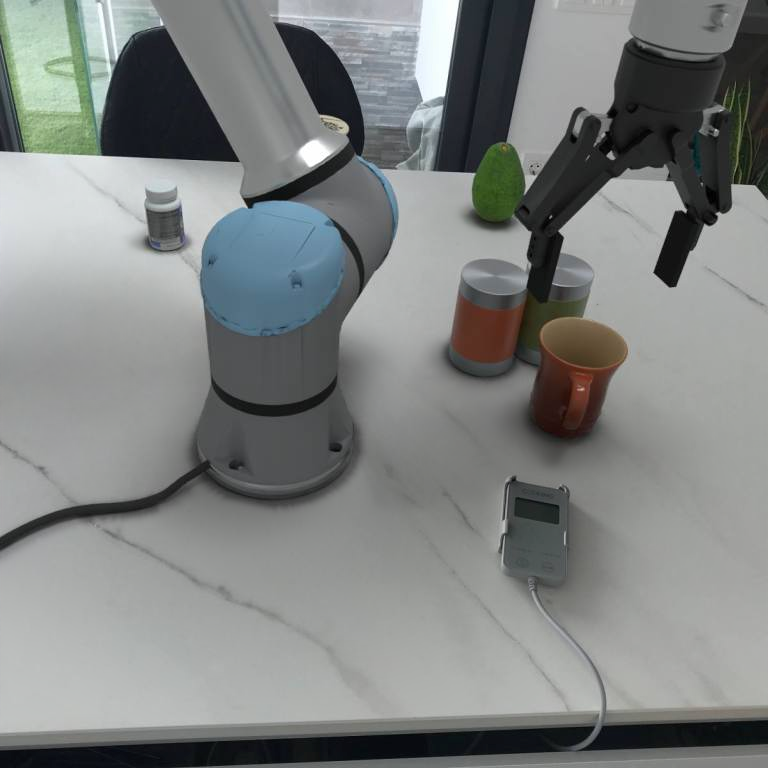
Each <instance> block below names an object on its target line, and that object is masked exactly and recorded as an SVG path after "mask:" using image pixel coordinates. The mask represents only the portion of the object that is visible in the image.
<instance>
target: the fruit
mask: <svg viewBox="0 0 768 768" xmlns="http://www.w3.org/2000/svg"><path fill="white" fill-rule="evenodd" d="M524 172H525V171H524V169H523V166H522V163H521V158H520V156H519V154H518V152H517V150H516V148H515V147H514V145H513V144H511V143H508V142H504V141H500V142H497V143H495V144H492V145H491V146H490V147H489V148H488V149H487V151H486V152H485V154H484V156H483V158H482V159H481V162H480V163H479V166H478V167H477V169H476V172H475V174H474V176H473V179H472V185H471V201H472V204H473V208H474V210H475V212H476V213H477V214H478V215H479V217H480V218H481V219H483V220H485V221H487V222H493V223H496V222H502V221H504V220H507V219H509V218H511V217H512V216H513V215H514V211H515V209H516V207H517V206H518V204H519V203H520V201H521V200H522V198H523V197H524V195H525V194H526V188H527V187H526V186H527V185H526V176H525V173H524Z"/></svg>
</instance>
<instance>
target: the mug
mask: <svg viewBox="0 0 768 768" xmlns="http://www.w3.org/2000/svg"><path fill="white" fill-rule="evenodd" d="M539 344H540V354H541V357H540V364H539V365H538V368H537V371H536V374H535V377H534V381H533V384H532V388H531V392H530V394H529V398H530V401H529V413H530V416H531V418H532V420H533V421H534V423H535V424H536V425H537V426H538V427H539V428H541V429H542V430H544V431H545V432H548V433H549V434H551V435H554V436H557V437H562V438H577V437H580V436H581V437H582V436H583V435H586V434H588V433H589V432H590V431H591V430H593V428H594V426H595V425H596V423H598V420H599V418H600V416H601V415H602V411H603V407H604V404H605V401H606V398H607V395H608V391H609V386H610V383H611V380H612V378H613V377H614V375H615V374H616V373H617V372H618V370H619V369H620V367H621V366H622V365H623V364H624V362H626V360H627V357H628V354H629V349H628V345H627V342H626V341H625V339H624V338H623V336H622V335H621V334H619V333H618V332H617V331H616V330H614V329H613V328H611V327H610V326H608V325H606V324H605V323H602V322H599V321H596V320H593V319H590V318H586V317H583V318H580V317H562V318H557V319H554V320H551V321H549V322H547V323H546V324H545V325H544V326H543V327H542V328H541V330H540V332H539Z"/></svg>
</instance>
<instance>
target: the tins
mask: <svg viewBox="0 0 768 768" xmlns="http://www.w3.org/2000/svg"><path fill="white" fill-rule="evenodd" d="M530 268H531V263H530V262H529V261H528V260H527V263H526V269H525V270H524V269H523V268H522V267H520V266H519V265H516V264H515V263H512V262H510V261H506V260H502V259H496V258H479V259H474V260H471V261H469V262H467V263H466V264H465V265H464V266H463V267H462V269H461V273H460V279H459V285H458V287H457V288H458V289H457V296H456V300H455V301H456V302H455V308H454V315H453V321H452V327H451V334H450V343H449V350H448V356H449V360H450V361H451V363H452V364H453V365H454V366H455V367H456V368H457V369H459V370H460V371H462V372H464V373H466V374H469V375H473V376H477V377H496V376H499V375H502V374H503V373H505V372H507V371H508V370H509V369H510V368H511V366H512V364H513V358H514V354H515V355H516V356H517V357H518V358H519V359H521V360H523V361H524V362H527V363H529V364H532V365H535V366H539V364H540V357H541V354H540V344H539V332H540V330H541V328H542V327H543V326H544V325H545V324H546V323H547V322H549V321H551V320H554V319H557V318H562V317H580V318H584V315H585V312H586V308H587V304H588V301H589V297H590V294H591V289H592V285H593V282H594V279H595V271H594V269H593V267H592V266H591V265H590V264H589V263H588V262H587V261H586V260H584V259H582V258H580V257H578V256H575V255H573V254H569V253H565V252H560V255H559V259H558V263H557V267H556V271H555V275H554V279H553V282H552V286H551V290H550V294H549V298H548V302H547V303H541V304H539V302H538V301H537V300H536V299H535V297H534V296H533V295H532V294H531V293H530V291H529V290H528V289H527V288H526V285H527V281H528V277H529V272H530Z"/></svg>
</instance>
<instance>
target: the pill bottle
mask: <svg viewBox="0 0 768 768" xmlns="http://www.w3.org/2000/svg"><path fill="white" fill-rule="evenodd" d="M144 190H145V197H146V198H145V200H144V202H143V203H144V204H143V205H144V211H145V212H144V213H145V219H146V225H147V233H148V240H149V244H150V246H151V247H152V248H154V249H156V250H159V251H175V250H178V249H180V248H182V247H183V246H184V244H185V242H186V233H185V225H184V215H183V206H182V199H181V198H180V197H179V195H178V185H177V183H176V181H173V180H171V179H166V178H158V179H153V180H149V181H148V182H147V183H145V186H144Z"/></svg>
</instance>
